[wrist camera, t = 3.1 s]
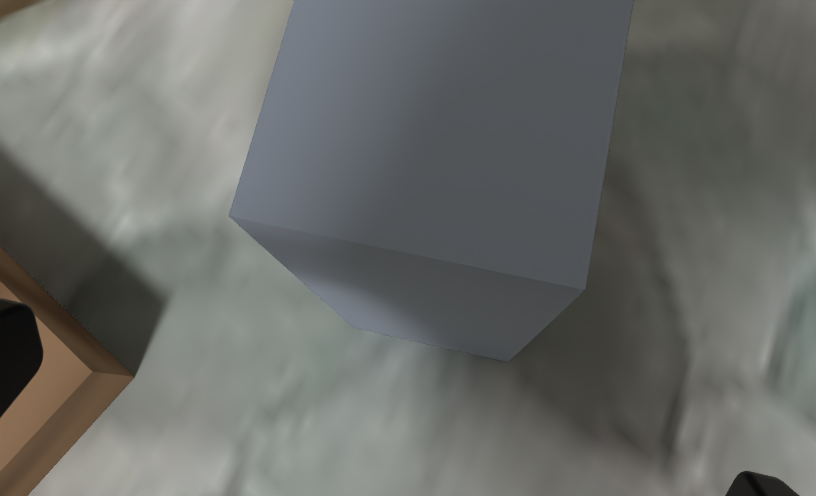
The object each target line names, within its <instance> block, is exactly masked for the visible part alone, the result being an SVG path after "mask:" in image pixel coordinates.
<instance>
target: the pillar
mask: <svg viewBox="0 0 816 496" xmlns="http://www.w3.org/2000/svg"><path fill="white" fill-rule="evenodd" d="M633 1H634V0H294V4H293V7H292V10H291V14H290V17H289V20H288V23H287V27H286V30H285V33H284V36H283V40H282V43H281V46H280V50H279V53H278V56H277V59H276V63H275V66H274V69H273V72H272V76H271V79H270V82H269V86H268V89H267V92H266V95H265V99H264V102H263V105H262V108H261V112H260V115H259V118H258V122H257V125H256V128H255V131H254V135H253V138H252V141H251V144H250V148H249V151H248V154H247V158H246V161H245V164H244V167H243V171H242V174H241V177H240V180H239V184H238V187H237V190H236V194H235V197H234V200H233V203H232V207H231V210H230V213H229V217H230V218H231V219H232V220H234V221H235V222H236V223H237V224H238V225H239V226H240V227H241V228H243V229H244V230H245V231H246V232H247V233H248V234H249V235H250V236H251V237H253V238H254V239H255V240H256V241H257V242H258V243H259V244H260V245H261V246H263V247H264V248H265V249H266V250H267V251H268V252H269V253H270V254H272V255H273V256H274V257H275V258H276V259H277V260H278V261H279V262H280V263H282V264H283V265H284V266H285V267H286V268H287V269H288V270H289V271H290V272H292V273H293V274H294V275H295V276H296V277H297V278H298V279H299V280H301V281H302V282H303V283H304V284H305V285H306V286H307V287H308V288H309V289H311V290H312V291H313V292H314V293H315V294H316V295H317V296H318V297H319V298H321V299H322V300H323V301H324V302H325V303H326V304H327V305H328V306H330V307H331V308H332V309H333V310H334V311H335V312H336V313H337V314H338V315H340V316H341V317H342V318H343V319H344V320H345V321H346V322H347V323H348V324H350V325H351V326H352V327H353V328H357V329H362V330H366V331H371V332H375V333H380V334H384V335H389V336H393V337H398V338H402V339H407V340H411V341H416V342H420V343H425V344H429V345H434V346H438V347H442V348H447V349H451V350H456V351H460V352H465V353H469V354H474V355H478V356H483V357H487V358H492V359H496V360H501V361H505V362H509V361H510V360H511V359H512V358H513V357H514V356H515V355H516V354H517V353H519V352H520V351H521V350H522V349H523V348H524V347H525V346H526V345H527V344H528V343H529V342H530V341H531V340H532V339H534V338H535V337H536V336H537V335H538V334H539V333H540V332H541V331H542V330H543V329H544V328H545V327H546V326H547V325H548V324H550V323H551V322H552V321H553V320H554V319H555V318H556V317H557V316H558V315H559V314H560V313H561V312H562V311H563V310H565V309H566V308H567V307H568V306H569V305H570V304H571V303H572V302H573V301H574V300H575V299H576V298H577V297H578V296H579V295H581V294H582V293H583V292H584V291H585V289H586V283H587V277H588V271H589V265H590V259H591V253H592V247H593V241H594V235H595V229H596V223H597V217H598V211H599V205H600V199H601V193H602V187H603V181H604V175H605V169H606V163H607V157H608V151H609V145H610V139H611V133H612V127H613V121H614V115H615V109H616V103H617V97H618V91H619V85H620V79H621V73H622V67H623V61H624V55H625V49H626V43H627V37H628V31H629V25H630V19H631V13H632V7H633Z"/></svg>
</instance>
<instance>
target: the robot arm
mask: <svg viewBox="0 0 816 496" xmlns="http://www.w3.org/2000/svg"><path fill="white" fill-rule="evenodd" d="M43 354H44V351H43V346H42V342H41V338H40V334H39V330H38V326H37V322H36V318H35V314H34V311H33V310H32V308H31V307H30V306H29V305H27V304H25V303H21V302H17V301H12V300H8V299H3V298H0V418H1V417H2V416H3V414H4V413H5V412H6V411H7V409H8V408H9V407H10V406H11V404H12V403H13V402H14V401H15V400H16V398H17V397H18V396H19V395H20V393H21V392H22V391H23V390H24V388H25V387H26V386H27V385H28V383H29V382H30V381H31V380H32V378H33V377H34V376H35V375H36V373H37V372H38V370H39V368H40V366H41V364H42V361H43ZM725 496H799V495H798V494H797V493H796V492H794V491H793V490H792V489H791V488H790V487H789V486H788V485H786V484H785V483H784V482H783V481H781V480H780V479H778V478H776V477H772V476H768V475H763V474H759V473H755V472H750V471H744V472H741V473H740V474H738V475H737V477H736V478H735V480H734V481H733V483H732V485H731V487H730V488H729V490H728V492H727V494H726V495H725Z"/></svg>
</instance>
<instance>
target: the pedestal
mask: <svg viewBox="0 0 816 496" xmlns="http://www.w3.org/2000/svg"><path fill="white" fill-rule="evenodd" d="M0 298H3V299H8V300H12V301H17V302H21V303H25V304H27V305H29V306H30V307H31V308H32V310H33V311H34V314H35V318H36V322H37V326H38V330H39V334H40V338H41V342H42V346H43V351H44V354H43V361H42V364H41V366H40V368H39V370H38V372H37V373H36V375H35V376H34V377H33V378H32V380H31V381H30V382H29V383H28V385H27V386H26V387H25V388H24V390H23V391H22V392H21V393H20V395H19V396H18V397H17V398H16V400H15V401H14V402H13V403H12V404H11V406H10V407H9V408H8V409H7V411H6V412H5V413H4V414H3V416H2V417H1V418H0V496H28V495H29V493H30V492H31V491H32V490H33V489H34V488H35V487H36V486H37V485H38V484H39V482H40V481H41V480H42V479H43V478H44V477H45V476H46V475H47V474H48V473H49V471H50V470H51V469H52V468H53V467H54V466H55V465H56V464H57V463H58V461H59V460H60V459H61V458H62V457H63V456H64V455H65V454H66V453H67V452H68V450H69V449H70V448H71V447H72V446H73V445H74V444H75V443H76V442H77V440H78V439H79V438H80V437H81V436H82V435H83V434H84V433H85V432H86V431H87V429H88V428H89V427H90V426H91V425H92V424H93V423H94V422H95V421H96V419H97V418H98V417H99V416H100V415H101V414H102V413H103V412H104V411H105V410H106V408H107V407H108V406H109V405H110V404H111V403H112V402H113V401H114V400H115V398H116V397H117V396H118V395H119V394H120V393H121V392H122V391H123V390H124V389H125V387H126V386H127V385H128V384H129V383H130V382H131V381H132V380H133V379H134V378H135V376H133V375H132V374H131V373H130V372H129V371H128V370H127V369H126V368H125V367H124V366H123V365H122V364H121V363H120V362H119V361H118V360H117V359H116V358H115V357H114V356H113V355H112V354H111V353H110V352H109V351H108V350H107V349H106V348H105V347H103V346H102V345H101V344H100V343H99V342H98V341H97V340H96V339H95V338H94V337H93V336H92V335H91V334H90V333H89V332H88V331H87V330H86V329H85V328H84V327H83V326H82V325H81V324H80V323H79V322H78V321H77V320H76V319H75V318H73V317H72V316H71V315H70V314H69V313H68V312H67V311H66V310H65V309H64V308H63V307H62V306H61V305H60V304H59V303H58V302H57V301H56V300H55V299H54V298H53V297H52V296H51V295H50V294H49V293H48V292H47V291H46V290H45V289H43V288H42V287H41V286H40V285H39V284H38V283H37V282H36V281H35V280H34V279H33V278H32V277H31V276H30V275H29V274H28V273H27V272H26V271H25V270H24V269H23V268H22V267H21V266H20V265H19V264H18V263H17V262H16V261H15V260H13V259H12V258H11V257H10V256H9V255H8V254H7V253H6V252H5V251H4V250H3V249H2V248H1V247H0Z"/></svg>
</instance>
